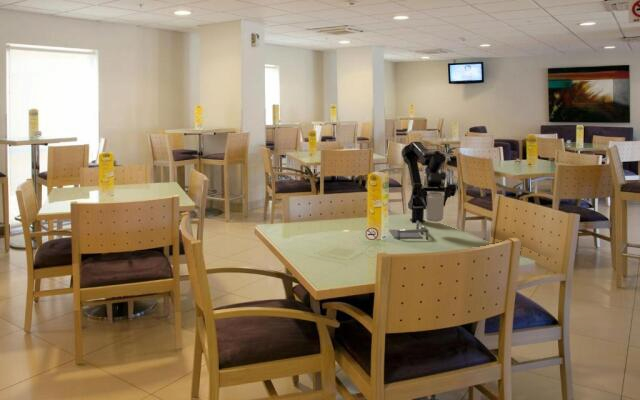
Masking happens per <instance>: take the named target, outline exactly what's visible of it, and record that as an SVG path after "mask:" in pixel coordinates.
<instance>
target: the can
mask: <svg viewBox="0 0 640 400" xmlns="http://www.w3.org/2000/svg"><path fill="white" fill-rule="evenodd" d="M427 194H428V195H427V197H426V202H427V206H426V209H425V219H426V220H427V221H428V222H435V223H436V222H441V221H442V220H443V219H444V207H445V206H444V193H443V192H430V191H429V192H427Z"/></svg>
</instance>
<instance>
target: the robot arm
mask: <svg viewBox="0 0 640 400" xmlns="http://www.w3.org/2000/svg"><path fill="white" fill-rule="evenodd" d="M401 156H402V159H403V161H404V163H405V164H406V165H407V167H408V172H409V173H408V174H409V177H410V182H411V187H412V188H411V194H410V197H409V201H408V203H407V206H408V207H407V208H408V209H410V210H411V218H409V221H410V222H411V223H417V222H416V221H417V220H419V221H420V222H421V223H426V220H425V219H424V218H425V217H424V215H425V210H426V206H427V202H426V197H427V195H428V192H429V193H430V192H439V193H443V196H444V207H446V203H447V200H448V198H451V197H455V196H456V192H457V188H458V187H457V185H456V184H454V183H451V184H450V183H447V184H446V186H442V181H446V179H447V174H446V172H444V171H442V172H439V171H440V170H441V169H442V167H443V166H444V164H445V162H446V160H447V159H446V158H447V157H446V156H445V155H444V154H443V153H441V152H440V150H435V151H429V150H428V149H427V148H426V147H425V146H424V145H423V143H422V142H421V141H411V142H409V144H407V145H405V146H404V147H403V149H402V150H401ZM418 161H419V163H420V165H421V166H424V167H425V166H426V167H425V179H426V186H424V185H423V183H422V178H421V174H420V169H419V164H418Z"/></svg>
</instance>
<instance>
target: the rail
mask: <svg viewBox="0 0 640 400" xmlns="http://www.w3.org/2000/svg"><path fill="white" fill-rule="evenodd" d="M415 223H416V229H397V230H398V238H396V240H401V238H400V233H419V234H420V235H424V234H425V240H429V229H427V227H426V226H425V225H424V224H423V222H420V221H419V220H417V221H416V222H415ZM419 228H420V229H419Z"/></svg>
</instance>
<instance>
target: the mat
mask: <svg viewBox="0 0 640 400" xmlns="http://www.w3.org/2000/svg"><path fill="white" fill-rule="evenodd" d="M398 230H399V229H389V230H388V231H389V233H390V234H391V236H392V237H393V238H394V239H397V238H398ZM400 239H423V236H422V234H421V233H400Z"/></svg>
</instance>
